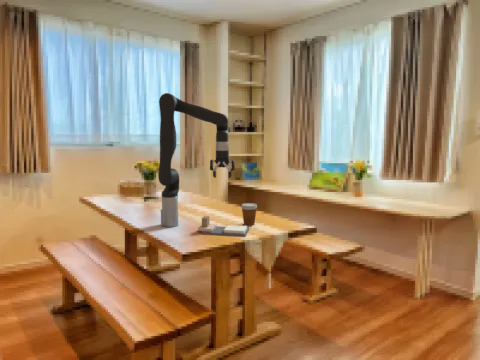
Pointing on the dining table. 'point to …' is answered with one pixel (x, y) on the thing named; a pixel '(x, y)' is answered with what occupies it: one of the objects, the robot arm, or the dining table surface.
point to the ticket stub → (207, 225)
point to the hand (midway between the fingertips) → (222, 177)
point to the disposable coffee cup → (249, 213)
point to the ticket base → (219, 232)
